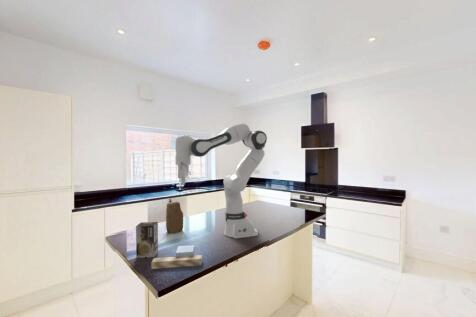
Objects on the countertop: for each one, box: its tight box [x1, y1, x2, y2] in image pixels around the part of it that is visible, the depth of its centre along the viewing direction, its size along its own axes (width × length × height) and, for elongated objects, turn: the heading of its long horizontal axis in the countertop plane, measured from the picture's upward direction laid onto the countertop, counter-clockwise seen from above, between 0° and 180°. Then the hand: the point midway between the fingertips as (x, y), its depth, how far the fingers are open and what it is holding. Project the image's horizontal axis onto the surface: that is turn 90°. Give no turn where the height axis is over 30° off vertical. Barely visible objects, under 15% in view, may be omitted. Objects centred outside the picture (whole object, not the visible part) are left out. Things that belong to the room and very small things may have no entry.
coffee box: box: [135, 221, 159, 259], centre depth 108 cm, size 9×6×16 cm
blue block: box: [175, 244, 195, 257], centre depth 103 cm, size 8×8×5 cm
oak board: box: [151, 254, 203, 270], centre depth 97 cm, size 22×4×3 cm, turn 98°
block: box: [165, 201, 184, 234], centre depth 143 cm, size 11×8×20 cm
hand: (183, 184), depth 127 cm, fingers closed
